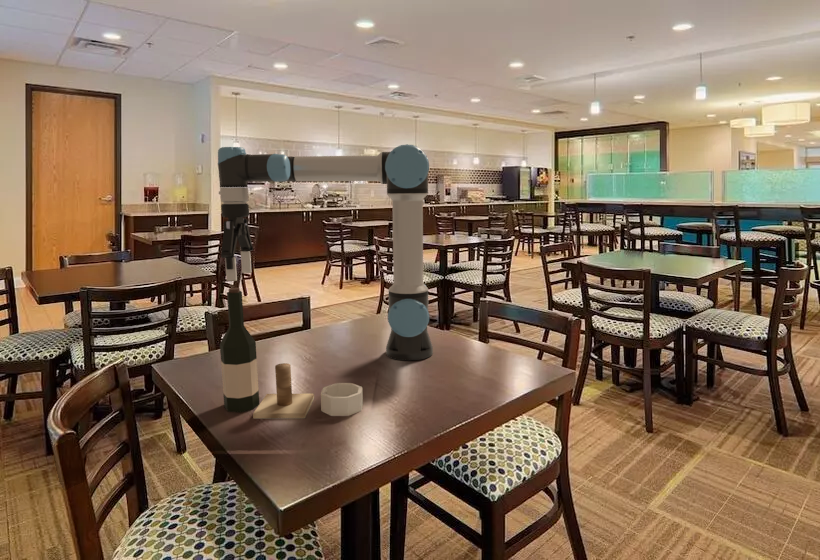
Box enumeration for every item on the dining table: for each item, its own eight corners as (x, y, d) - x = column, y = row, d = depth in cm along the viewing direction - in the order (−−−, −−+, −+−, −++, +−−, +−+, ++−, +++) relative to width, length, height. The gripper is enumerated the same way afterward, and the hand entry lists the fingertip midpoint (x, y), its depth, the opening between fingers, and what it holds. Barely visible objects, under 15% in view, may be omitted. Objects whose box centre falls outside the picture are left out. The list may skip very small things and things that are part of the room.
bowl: (363, 401, 136) (363, 382, 135) (360, 418, 126) (359, 397, 125) (325, 402, 136) (325, 383, 135) (319, 418, 126) (318, 398, 125)
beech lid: (314, 397, 137) (312, 357, 135) (304, 418, 125) (302, 374, 123) (267, 398, 137) (264, 358, 135) (253, 418, 125) (250, 374, 123)
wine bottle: (244, 398, 138) (237, 284, 133) (266, 405, 134) (259, 287, 128) (217, 409, 131) (208, 289, 126) (239, 417, 127) (230, 293, 122)
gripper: (236, 201, 165) (240, 269, 169) (204, 204, 140) (210, 284, 144) (260, 201, 165) (264, 269, 169) (233, 204, 140) (238, 284, 144)
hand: (239, 276), depth 156 cm, fingers open, 13 cm apart
